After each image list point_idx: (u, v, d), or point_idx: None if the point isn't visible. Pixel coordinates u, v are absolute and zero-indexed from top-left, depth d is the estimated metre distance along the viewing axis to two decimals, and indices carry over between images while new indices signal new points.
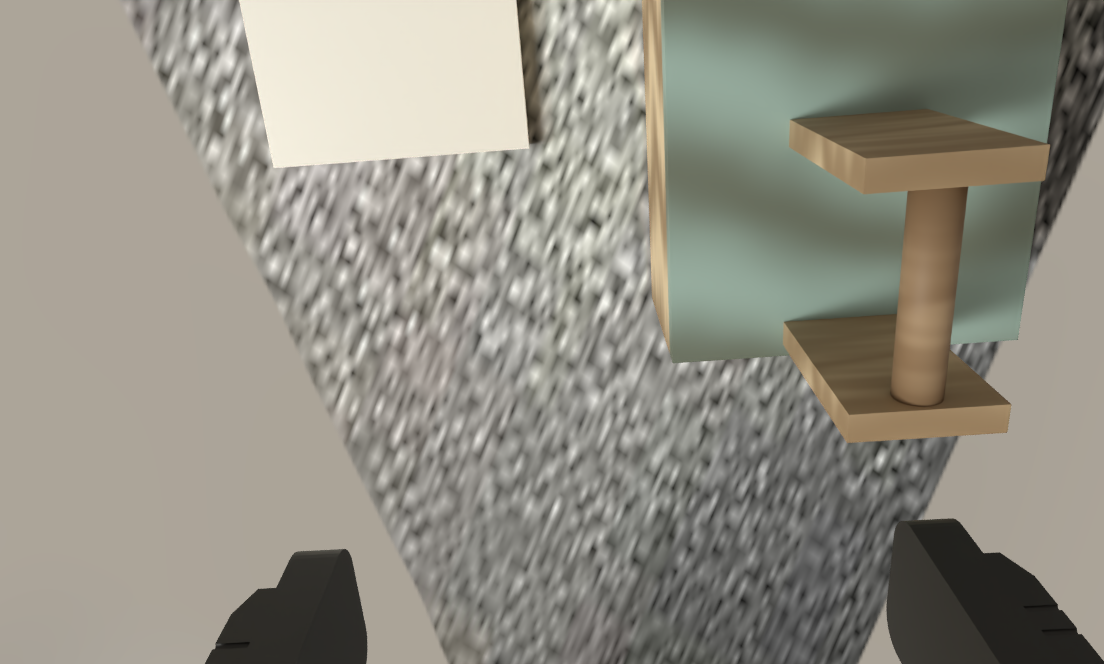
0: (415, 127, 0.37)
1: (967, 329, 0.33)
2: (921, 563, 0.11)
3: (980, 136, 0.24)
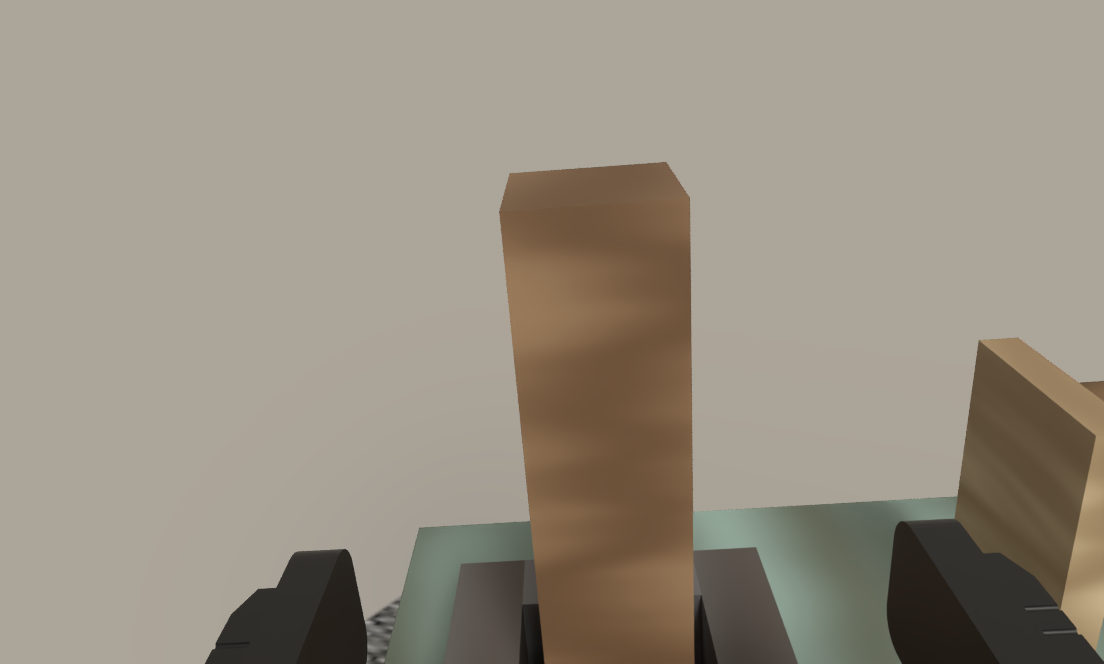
0: None
1: None
2: (921, 563, 0.11)
3: (987, 424, 0.21)
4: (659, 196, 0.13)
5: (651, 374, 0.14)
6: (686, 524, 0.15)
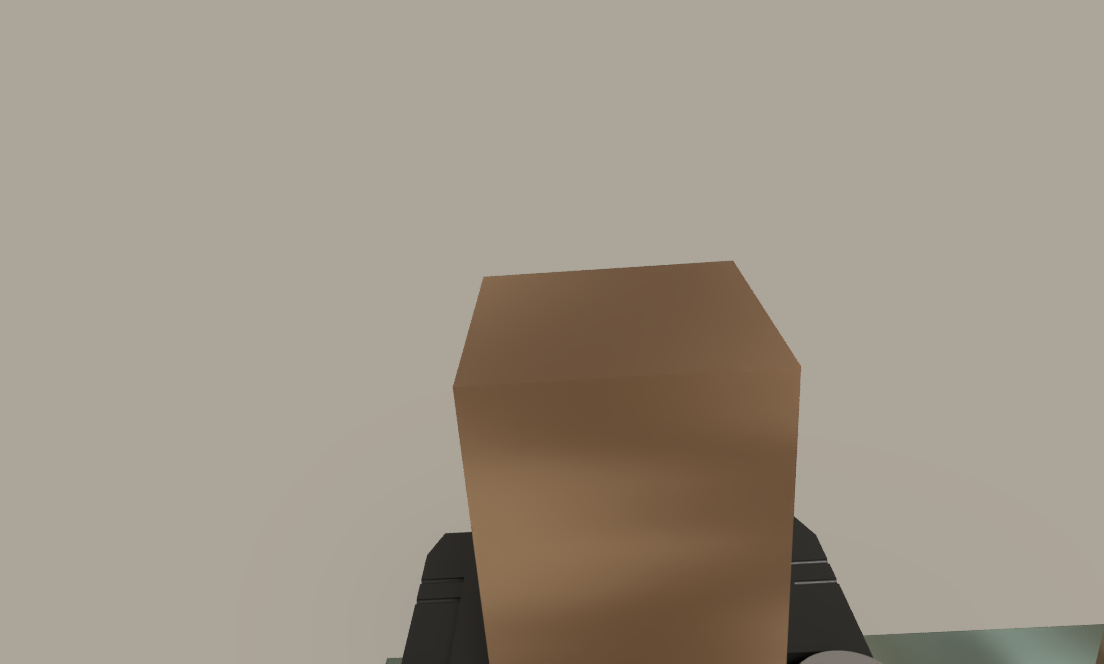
0: None
1: None
2: None
3: None
4: (742, 357, 0.07)
5: (718, 643, 0.08)
6: None
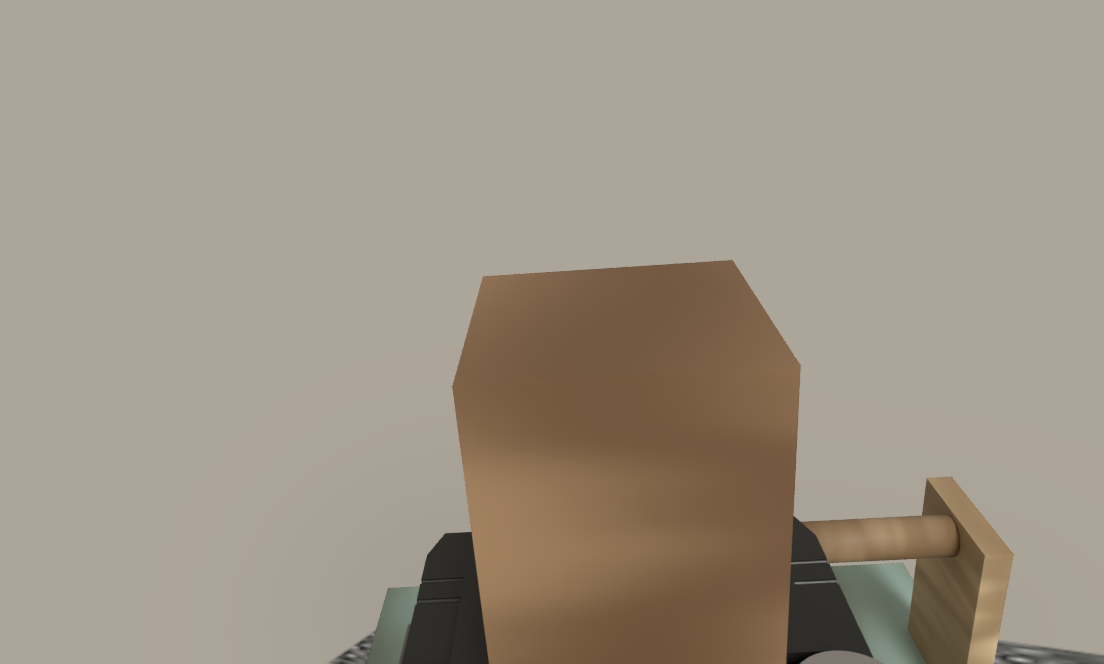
0: None
1: (906, 591, 0.39)
2: None
3: None
4: (741, 356, 0.07)
5: (719, 644, 0.08)
6: None
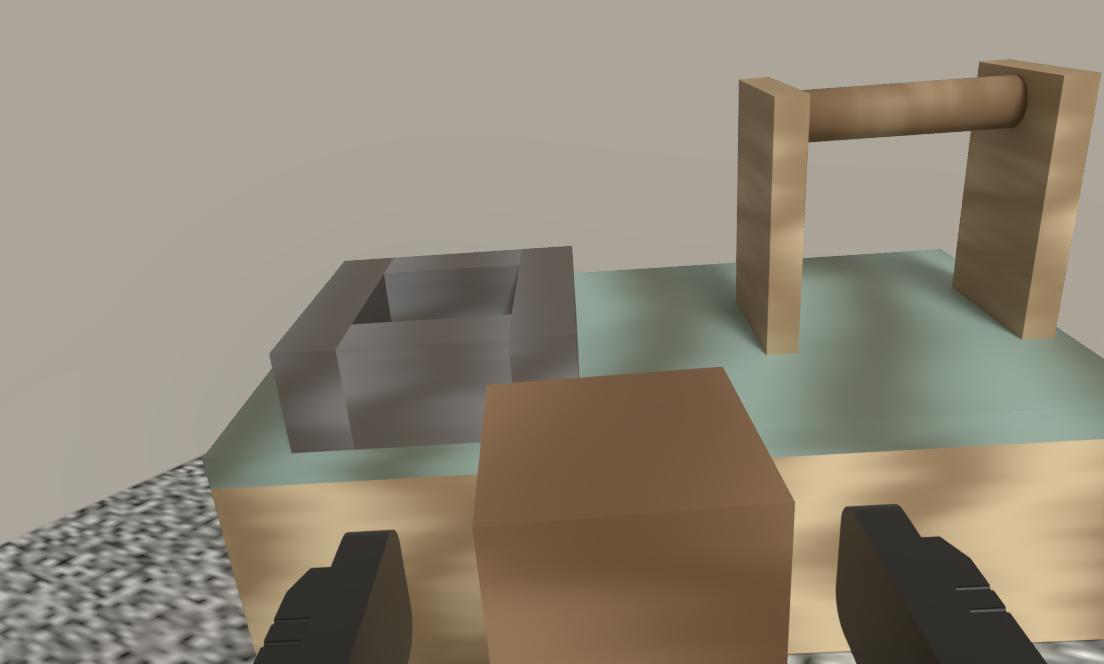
0: None
1: (947, 265, 0.33)
2: (862, 546, 0.11)
3: (744, 142, 0.27)
4: (740, 490, 0.08)
5: None
6: None
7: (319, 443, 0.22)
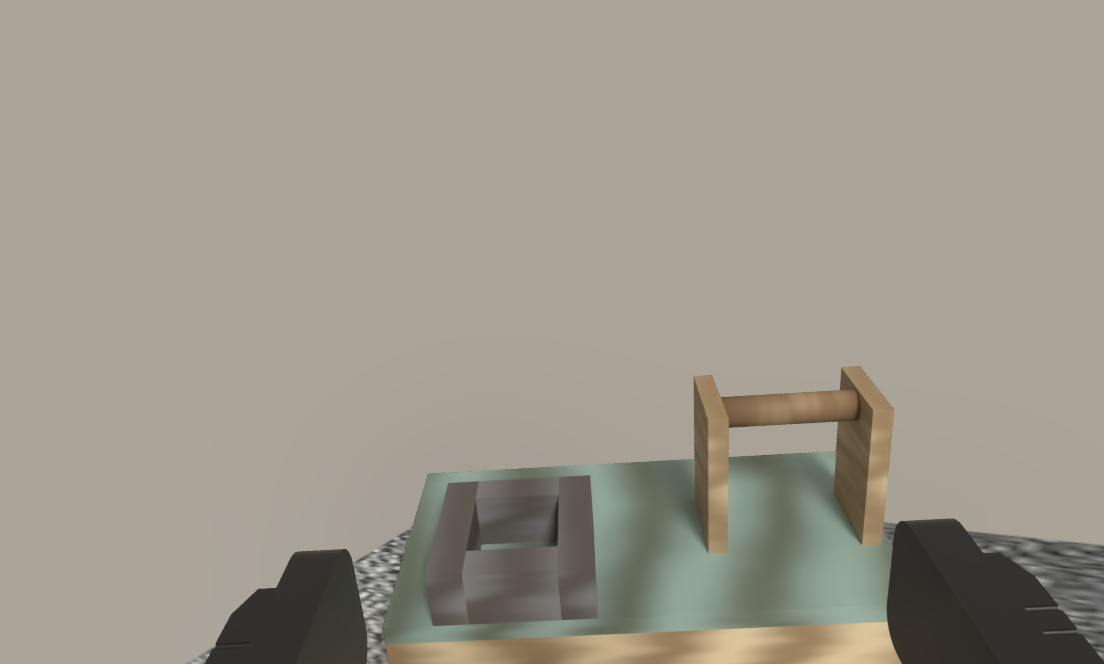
0: None
1: None
2: (921, 563, 0.11)
3: (696, 416, 0.45)
4: None
5: None
6: None
7: (449, 621, 0.39)
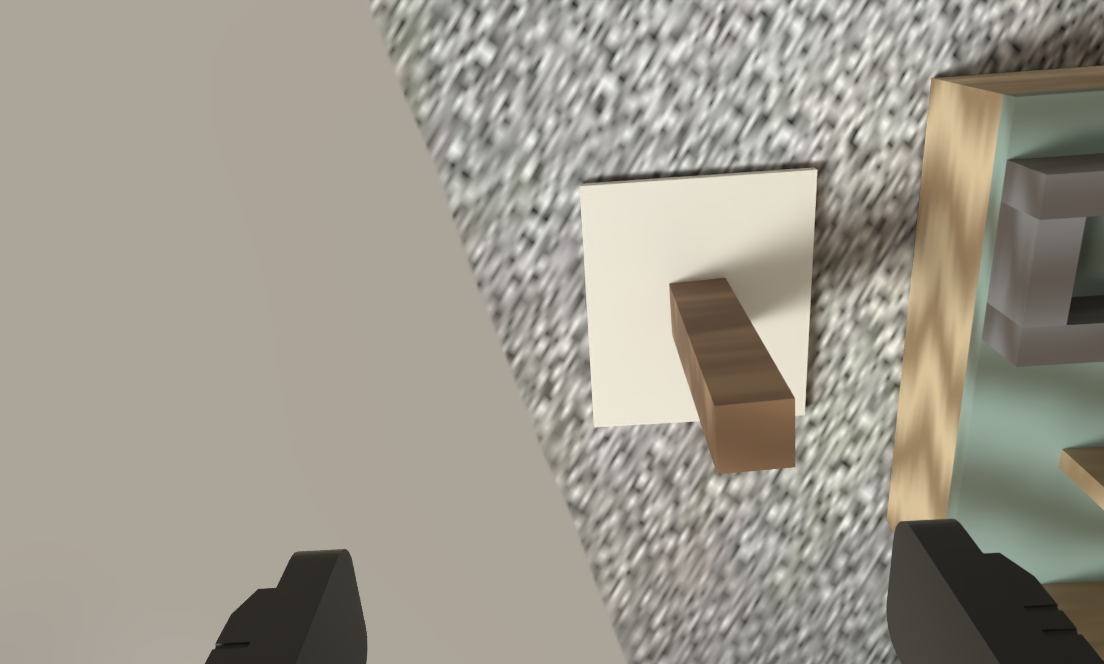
0: None
1: None
2: (921, 563, 0.11)
3: None
4: (723, 463, 0.32)
5: (704, 421, 0.34)
6: (693, 399, 0.37)
7: (1007, 181, 0.34)
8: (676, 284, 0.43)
